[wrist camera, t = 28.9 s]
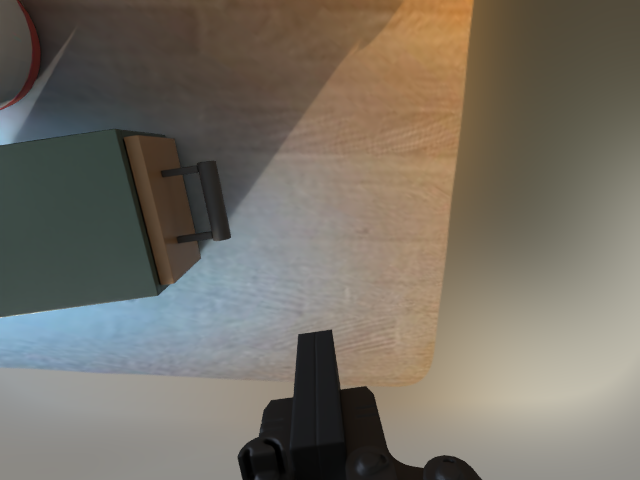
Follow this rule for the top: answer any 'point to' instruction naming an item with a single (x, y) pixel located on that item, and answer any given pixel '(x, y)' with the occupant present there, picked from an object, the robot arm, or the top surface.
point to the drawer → (173, 204)
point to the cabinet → (71, 225)
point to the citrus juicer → (17, 52)
